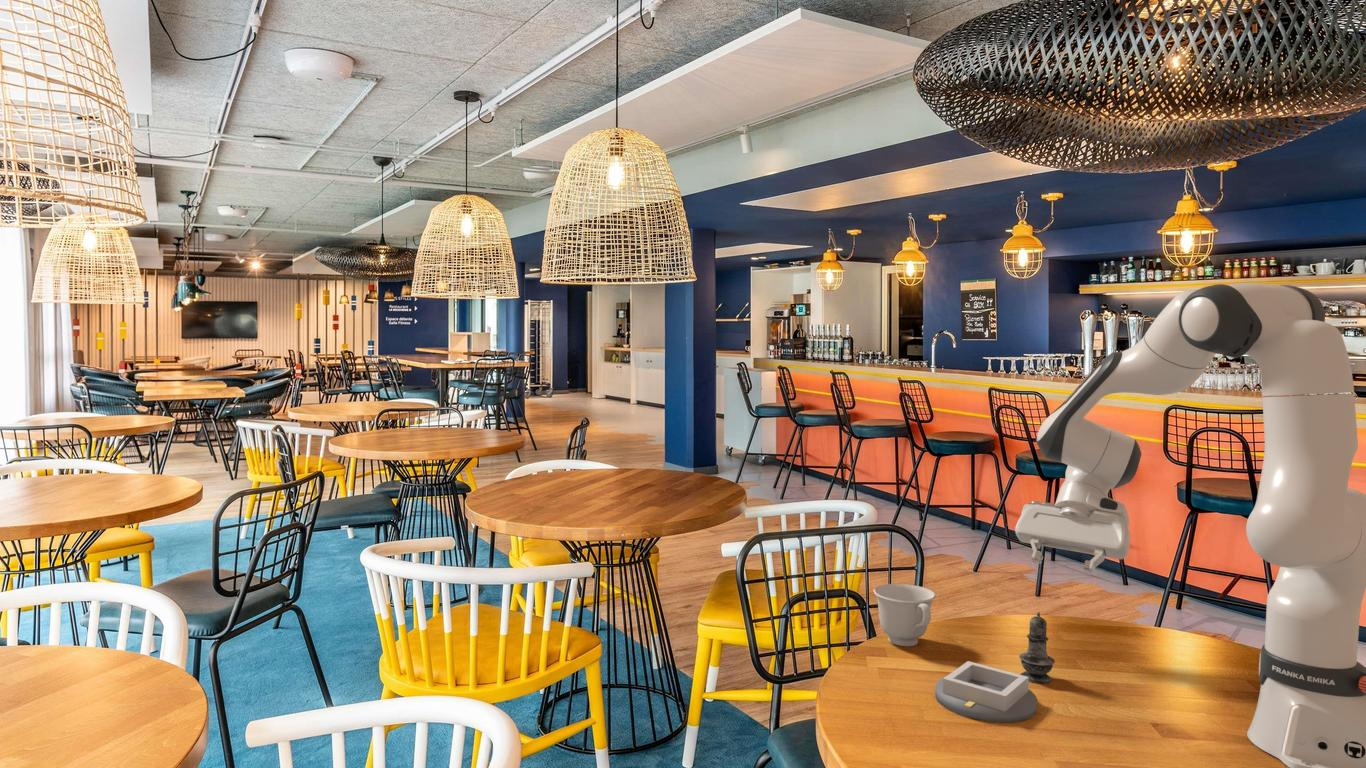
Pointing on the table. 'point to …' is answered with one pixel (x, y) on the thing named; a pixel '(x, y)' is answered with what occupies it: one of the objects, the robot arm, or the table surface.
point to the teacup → (904, 612)
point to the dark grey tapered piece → (1037, 653)
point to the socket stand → (987, 694)
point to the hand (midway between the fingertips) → (1061, 566)
